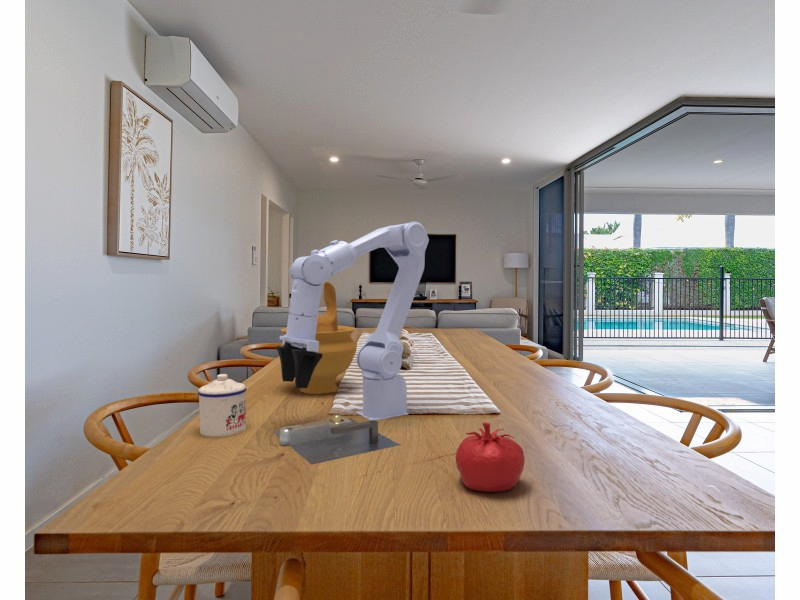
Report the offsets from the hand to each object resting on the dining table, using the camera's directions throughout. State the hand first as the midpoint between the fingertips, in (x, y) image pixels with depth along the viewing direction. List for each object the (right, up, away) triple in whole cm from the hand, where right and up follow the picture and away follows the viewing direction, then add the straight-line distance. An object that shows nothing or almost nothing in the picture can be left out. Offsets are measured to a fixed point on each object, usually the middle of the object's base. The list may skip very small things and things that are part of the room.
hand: (294, 384), depth 95 cm
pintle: (+9, -10, -2) cm, 13 cm away
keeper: (+13, -10, -8) cm, 18 cm away
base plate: (+8, -10, -4) cm, 14 cm away
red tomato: (+34, -11, -23) cm, 43 cm away
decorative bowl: (-2, -9, +39) cm, 40 cm away
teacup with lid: (-14, -10, +3) cm, 18 cm away
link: (+5, -9, -4) cm, 11 cm away
